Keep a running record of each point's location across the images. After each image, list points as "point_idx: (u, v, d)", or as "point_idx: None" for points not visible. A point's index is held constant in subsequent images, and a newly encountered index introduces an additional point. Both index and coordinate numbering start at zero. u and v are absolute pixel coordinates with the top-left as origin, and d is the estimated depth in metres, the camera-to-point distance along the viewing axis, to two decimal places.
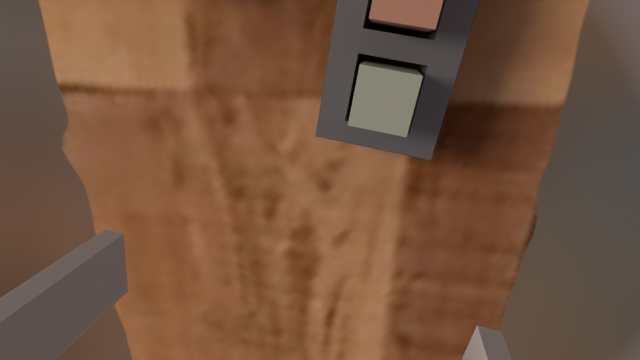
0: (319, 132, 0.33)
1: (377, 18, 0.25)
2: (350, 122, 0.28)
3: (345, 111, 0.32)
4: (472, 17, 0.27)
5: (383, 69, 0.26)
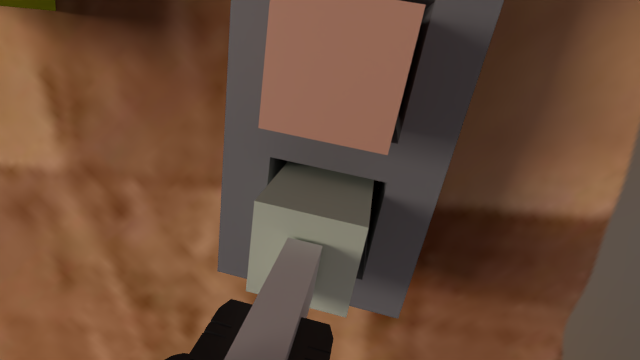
0: (222, 266, 0.21)
1: (274, 129, 0.13)
2: (250, 287, 0.16)
3: None
4: (463, 109, 0.15)
5: (297, 211, 0.14)
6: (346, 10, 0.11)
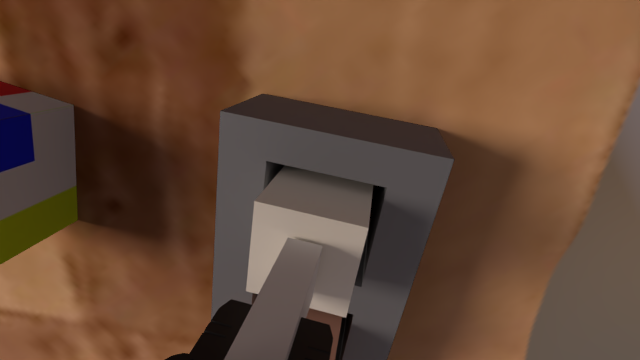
0: None
1: None
2: None
3: None
4: None
5: None
6: None
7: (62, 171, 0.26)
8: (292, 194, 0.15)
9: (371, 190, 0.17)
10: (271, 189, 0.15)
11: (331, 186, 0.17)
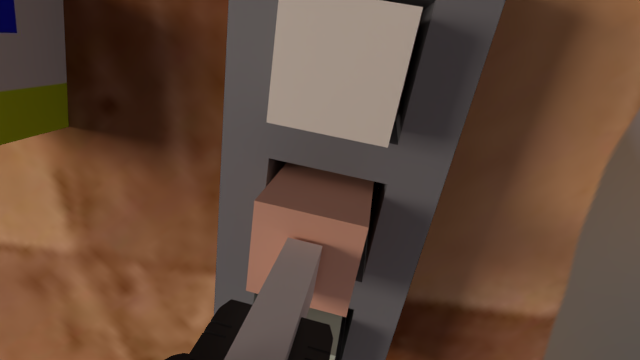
0: None
1: (258, 292, 0.16)
2: None
3: None
4: (414, 262, 0.18)
5: None
6: (310, 224, 0.14)
7: (50, 59, 0.23)
8: None
9: None
10: None
11: None
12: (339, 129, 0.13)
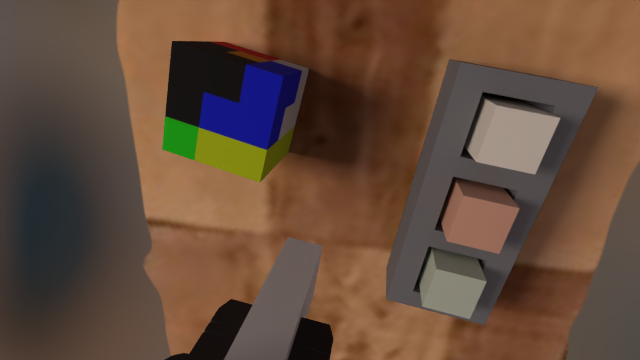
0: (390, 297, 0.39)
1: (453, 242, 0.32)
2: (424, 304, 0.35)
3: (414, 284, 0.38)
4: (527, 232, 0.33)
5: (455, 273, 0.33)
6: (490, 207, 0.30)
7: (295, 113, 0.38)
8: (507, 105, 0.28)
9: (540, 109, 0.30)
10: (495, 103, 0.28)
11: (519, 106, 0.30)
12: (512, 166, 0.28)
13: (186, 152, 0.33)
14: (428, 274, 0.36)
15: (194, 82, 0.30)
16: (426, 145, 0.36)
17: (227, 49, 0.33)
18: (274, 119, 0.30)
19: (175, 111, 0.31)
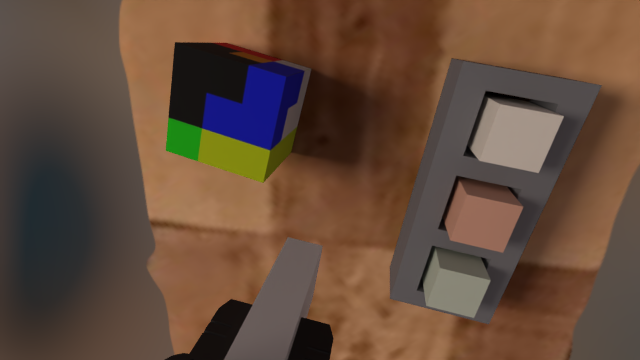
0: (393, 296, 0.39)
1: (457, 241, 0.32)
2: (428, 304, 0.35)
3: (417, 284, 0.38)
4: (531, 231, 0.33)
5: (458, 273, 0.33)
6: (493, 206, 0.30)
7: (298, 114, 0.38)
8: (510, 104, 0.28)
9: None
10: (498, 102, 0.28)
11: (522, 104, 0.30)
12: (516, 164, 0.28)
13: (189, 153, 0.33)
14: (432, 273, 0.36)
15: (197, 84, 0.30)
16: (429, 144, 0.36)
17: (229, 50, 0.33)
18: (277, 120, 0.30)
19: (178, 113, 0.31)
